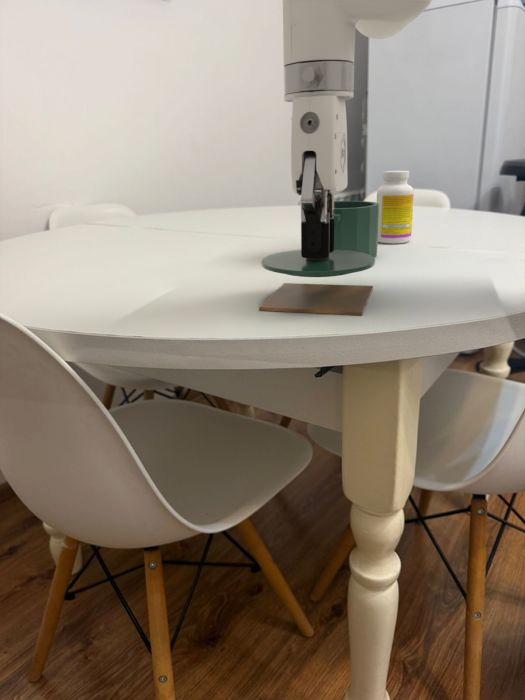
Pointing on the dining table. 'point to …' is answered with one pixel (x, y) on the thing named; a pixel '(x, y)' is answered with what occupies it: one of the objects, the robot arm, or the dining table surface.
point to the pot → (356, 226)
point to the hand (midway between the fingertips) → (318, 253)
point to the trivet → (319, 299)
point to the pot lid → (318, 262)
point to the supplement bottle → (395, 208)
